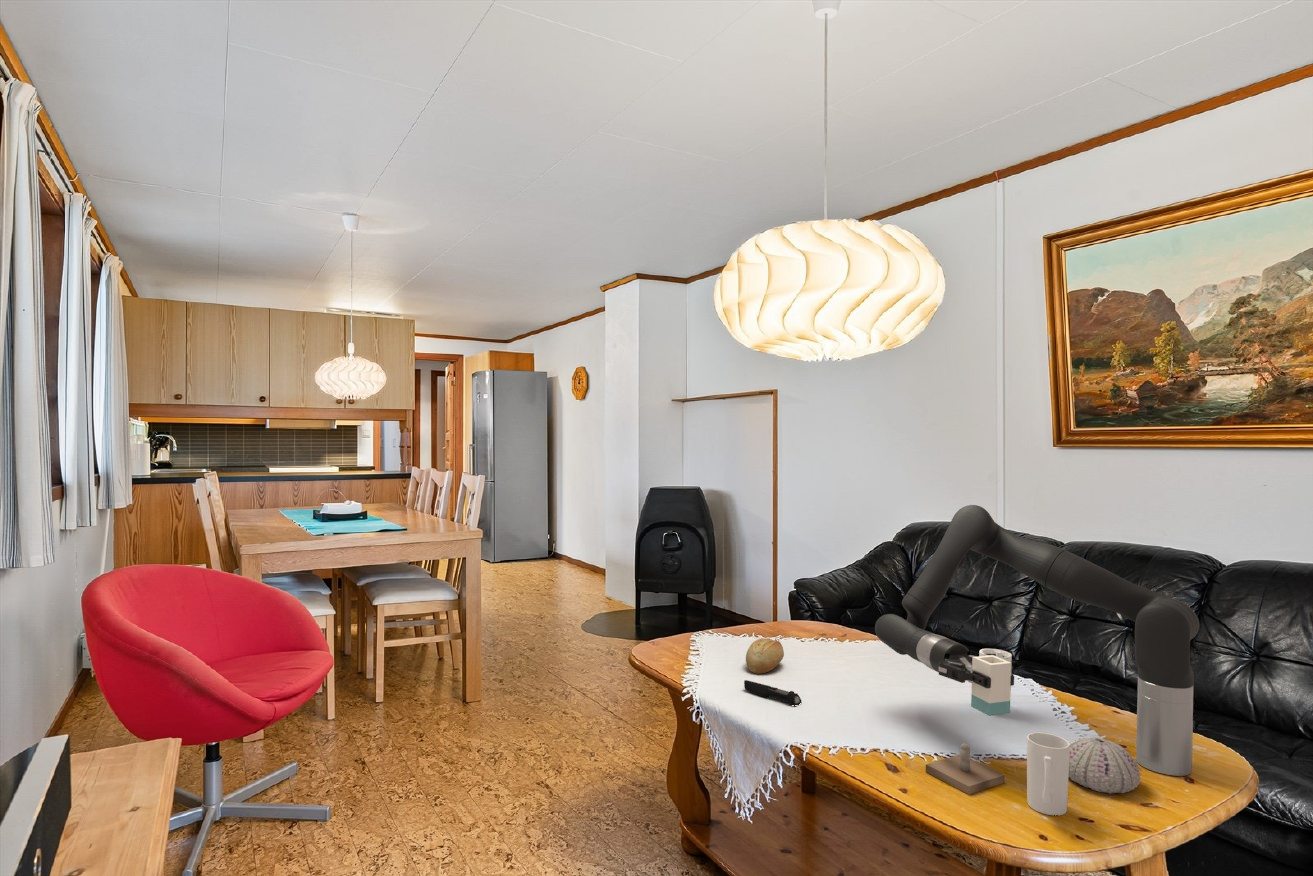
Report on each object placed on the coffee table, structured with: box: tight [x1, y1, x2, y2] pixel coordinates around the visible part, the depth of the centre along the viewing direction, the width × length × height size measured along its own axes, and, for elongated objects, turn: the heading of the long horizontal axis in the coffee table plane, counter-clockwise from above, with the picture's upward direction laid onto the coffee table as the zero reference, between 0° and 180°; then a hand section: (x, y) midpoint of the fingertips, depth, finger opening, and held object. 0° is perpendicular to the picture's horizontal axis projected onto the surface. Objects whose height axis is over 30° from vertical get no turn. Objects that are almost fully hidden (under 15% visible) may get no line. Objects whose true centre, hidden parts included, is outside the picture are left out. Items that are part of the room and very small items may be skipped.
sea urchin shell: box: [1068, 736, 1142, 795], centre depth 143 cm, size 13×14×8 cm
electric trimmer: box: [743, 679, 802, 706], centre depth 185 cm, size 4×16×3 cm, turn 49°
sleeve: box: [970, 654, 1013, 717], centre depth 148 cm, size 5×5×10 cm
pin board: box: [925, 742, 1006, 795], centre depth 144 cm, size 10×10×6 cm
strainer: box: [978, 648, 1013, 663], centre depth 178 cm, size 7×7×15 cm
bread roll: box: [745, 637, 785, 675], centre depth 208 cm, size 10×15×8 cm, turn 154°
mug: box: [1026, 732, 1071, 817], centre depth 132 cm, size 10×7×12 cm, turn 152°
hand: (1001, 682), depth 146 cm, fingers closed on sleeve, 5 cm apart
